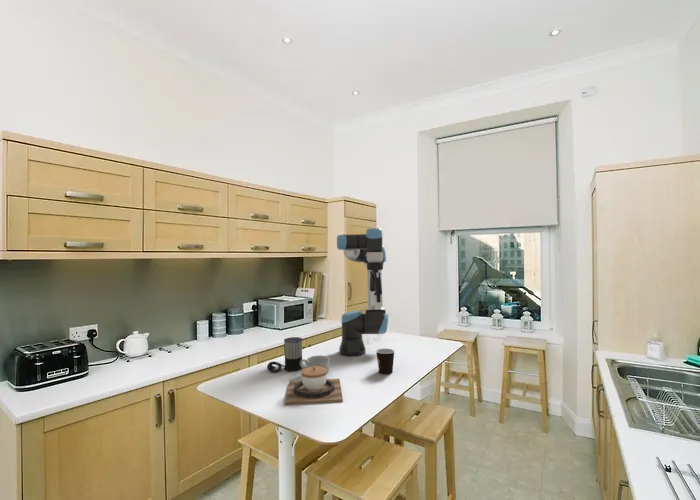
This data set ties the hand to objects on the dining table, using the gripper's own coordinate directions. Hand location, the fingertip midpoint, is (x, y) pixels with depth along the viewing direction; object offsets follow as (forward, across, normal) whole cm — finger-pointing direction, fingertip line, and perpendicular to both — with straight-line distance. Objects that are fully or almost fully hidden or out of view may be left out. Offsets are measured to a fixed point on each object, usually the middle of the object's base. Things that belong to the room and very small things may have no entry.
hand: (375, 307), depth 160 cm
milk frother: (+32, -15, -44) cm, 56 cm away
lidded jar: (+31, +15, -29) cm, 45 cm away
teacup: (+32, -4, -29) cm, 43 cm away
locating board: (+32, +15, -29) cm, 45 cm away
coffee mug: (+32, -5, +5) cm, 33 cm away
